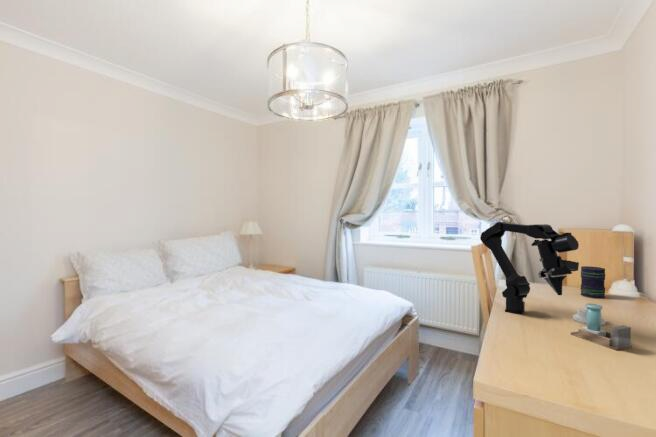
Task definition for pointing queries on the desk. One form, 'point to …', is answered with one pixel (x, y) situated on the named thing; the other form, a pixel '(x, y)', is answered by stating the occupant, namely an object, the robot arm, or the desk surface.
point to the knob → (594, 320)
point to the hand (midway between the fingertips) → (560, 295)
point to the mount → (609, 337)
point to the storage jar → (592, 282)
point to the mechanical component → (584, 316)
